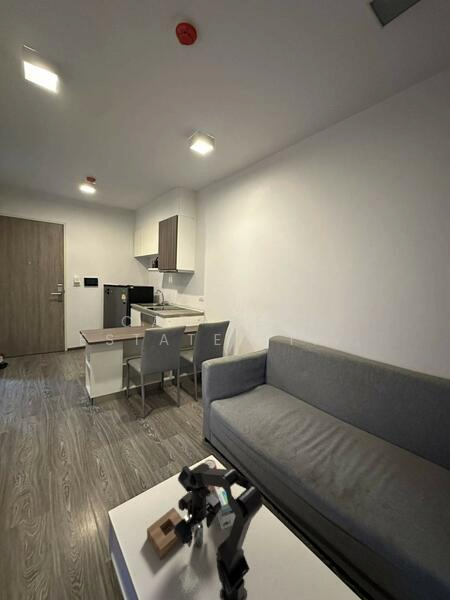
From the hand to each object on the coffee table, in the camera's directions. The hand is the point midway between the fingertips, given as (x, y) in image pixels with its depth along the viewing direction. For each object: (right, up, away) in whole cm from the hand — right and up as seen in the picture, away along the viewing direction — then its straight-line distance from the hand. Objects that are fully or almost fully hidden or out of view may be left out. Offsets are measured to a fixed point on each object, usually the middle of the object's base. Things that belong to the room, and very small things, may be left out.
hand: (198, 536), depth 89 cm
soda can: (+2, -1, +24) cm, 24 cm away
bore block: (-12, -3, +3) cm, 13 cm away
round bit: (0, -3, 0) cm, 3 cm away
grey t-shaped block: (-3, -2, +8) cm, 9 cm away
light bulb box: (+10, -2, +11) cm, 15 cm away
